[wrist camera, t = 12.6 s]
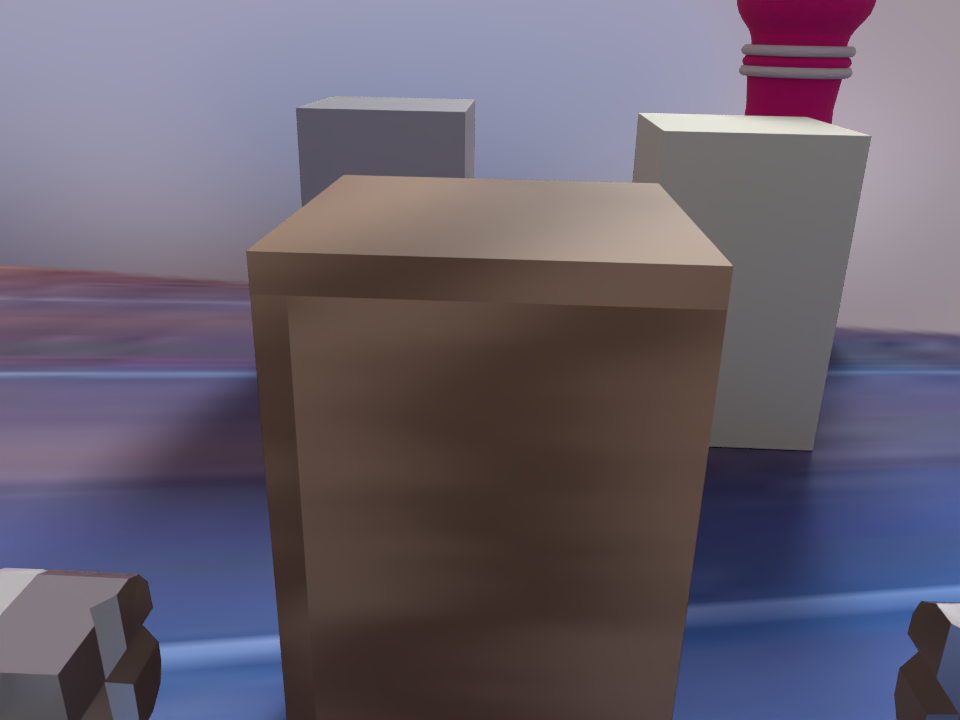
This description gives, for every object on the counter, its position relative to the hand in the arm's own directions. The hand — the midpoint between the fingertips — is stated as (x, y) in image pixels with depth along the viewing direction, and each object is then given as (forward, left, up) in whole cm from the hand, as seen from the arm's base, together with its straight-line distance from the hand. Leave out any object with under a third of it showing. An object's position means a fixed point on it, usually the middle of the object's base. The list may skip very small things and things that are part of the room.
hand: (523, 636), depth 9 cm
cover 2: (+7, +23, -8) cm, 25 cm away
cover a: (-1, +7, -8) cm, 10 cm away
